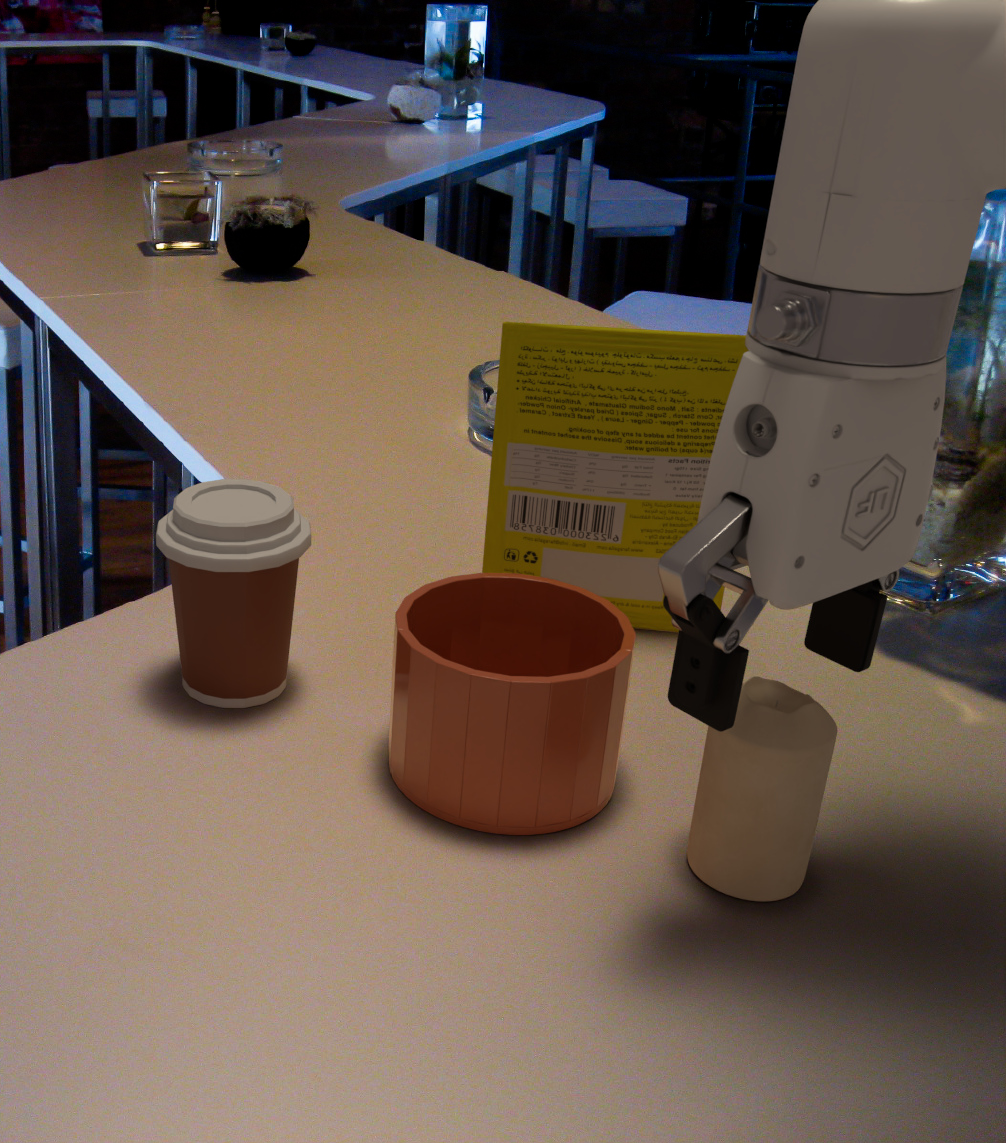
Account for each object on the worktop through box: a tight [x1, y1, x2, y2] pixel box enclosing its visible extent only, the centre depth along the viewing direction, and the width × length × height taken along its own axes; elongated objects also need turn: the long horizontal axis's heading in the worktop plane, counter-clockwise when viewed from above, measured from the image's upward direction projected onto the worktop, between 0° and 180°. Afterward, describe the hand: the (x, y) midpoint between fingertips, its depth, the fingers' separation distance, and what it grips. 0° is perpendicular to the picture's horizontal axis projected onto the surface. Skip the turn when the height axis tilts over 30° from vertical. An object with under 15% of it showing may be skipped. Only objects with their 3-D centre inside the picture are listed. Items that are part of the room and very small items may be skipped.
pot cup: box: [387, 572, 637, 836], centre depth 71 cm, size 12×12×9 cm
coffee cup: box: [155, 478, 312, 709], centre depth 79 cm, size 9×9×12 cm
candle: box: [686, 675, 838, 902], centre depth 63 cm, size 6×6×10 cm
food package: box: [481, 321, 749, 633], centre depth 84 cm, size 15×1×20 cm, turn 77°
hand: (769, 686), depth 61 cm, fingers open, 9 cm apart
